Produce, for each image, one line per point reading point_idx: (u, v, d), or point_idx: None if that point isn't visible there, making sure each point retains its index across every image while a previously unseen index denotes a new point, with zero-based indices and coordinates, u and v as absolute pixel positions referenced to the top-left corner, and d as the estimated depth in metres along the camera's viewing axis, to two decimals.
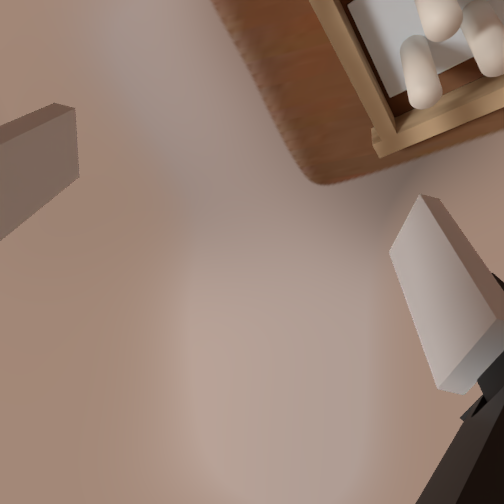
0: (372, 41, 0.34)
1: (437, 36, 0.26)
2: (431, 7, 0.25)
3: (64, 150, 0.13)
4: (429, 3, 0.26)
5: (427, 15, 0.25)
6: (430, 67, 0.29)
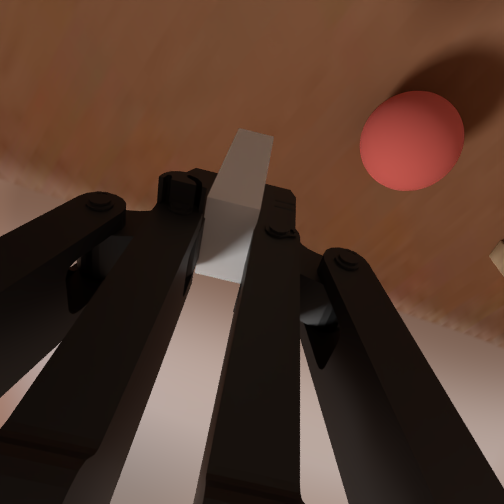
0: None
1: None
2: None
3: None
4: None
5: None
6: None
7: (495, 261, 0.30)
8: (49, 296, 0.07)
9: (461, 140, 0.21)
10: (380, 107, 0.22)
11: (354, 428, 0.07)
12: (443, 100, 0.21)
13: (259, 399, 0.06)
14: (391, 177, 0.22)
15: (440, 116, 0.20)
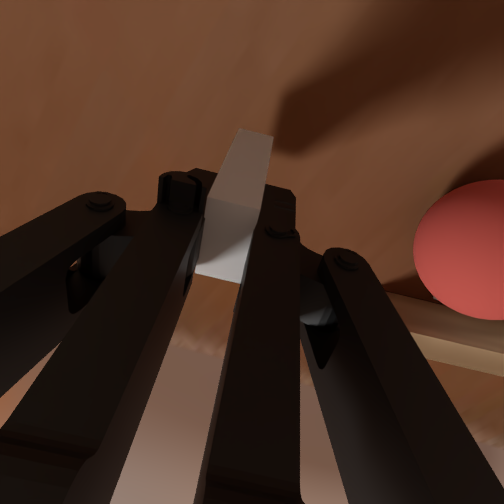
0: None
1: None
2: None
3: None
4: None
5: None
6: None
7: None
8: (49, 296, 0.07)
9: (466, 234, 0.14)
10: None
11: (354, 428, 0.07)
12: None
13: (259, 399, 0.06)
14: None
15: (473, 190, 0.15)
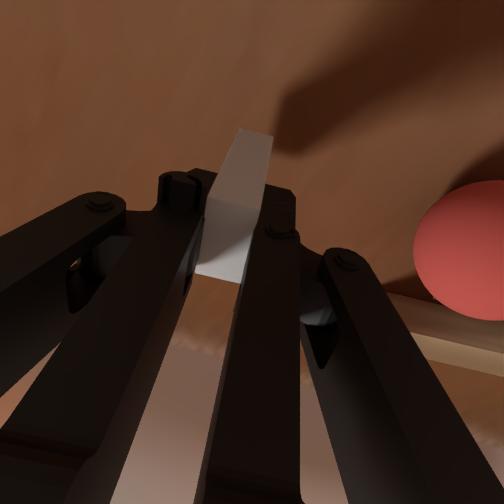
0: None
1: None
2: None
3: None
4: None
5: None
6: None
7: None
8: (49, 296, 0.07)
9: (466, 235, 0.14)
10: None
11: (354, 428, 0.07)
12: None
13: (260, 400, 0.06)
14: None
15: (473, 191, 0.15)
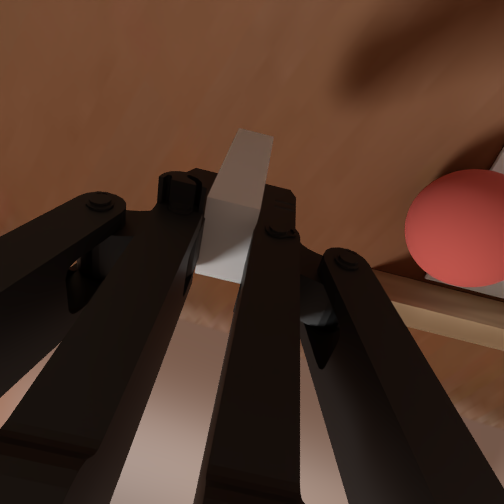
0: (488, 285, 0.24)
1: None
2: None
3: None
4: None
5: None
6: None
7: None
8: (49, 296, 0.07)
9: (446, 212, 0.17)
10: None
11: (354, 428, 0.07)
12: (489, 177, 0.17)
13: (259, 399, 0.06)
14: None
15: (453, 177, 0.18)
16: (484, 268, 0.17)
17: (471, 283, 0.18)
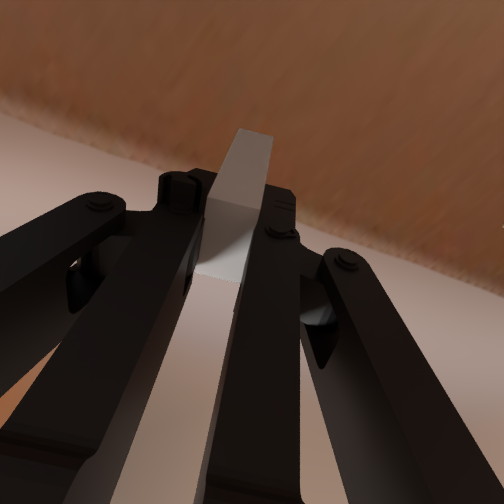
0: None
1: None
2: None
3: None
4: None
5: None
6: None
7: None
8: (49, 296, 0.07)
9: None
10: None
11: (354, 428, 0.07)
12: None
13: (260, 399, 0.06)
14: None
15: None
16: None
17: None
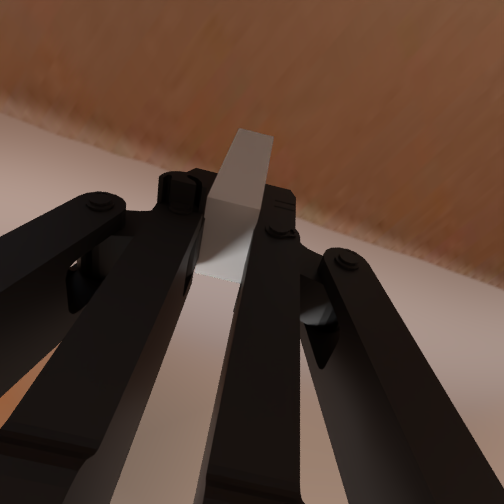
0: None
1: None
2: None
3: None
4: None
5: None
6: None
7: None
8: (49, 296, 0.07)
9: None
10: None
11: (354, 428, 0.07)
12: None
13: (260, 399, 0.06)
14: None
15: None
16: None
17: None
